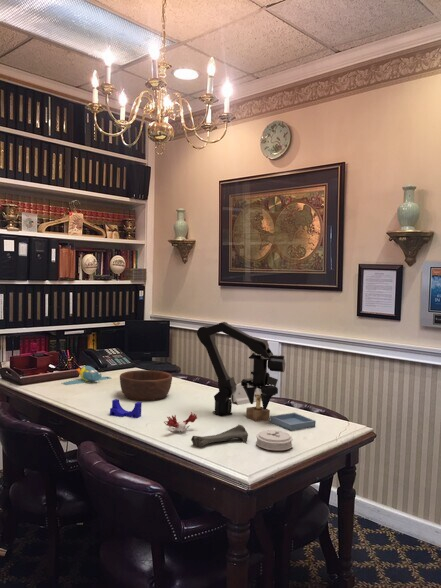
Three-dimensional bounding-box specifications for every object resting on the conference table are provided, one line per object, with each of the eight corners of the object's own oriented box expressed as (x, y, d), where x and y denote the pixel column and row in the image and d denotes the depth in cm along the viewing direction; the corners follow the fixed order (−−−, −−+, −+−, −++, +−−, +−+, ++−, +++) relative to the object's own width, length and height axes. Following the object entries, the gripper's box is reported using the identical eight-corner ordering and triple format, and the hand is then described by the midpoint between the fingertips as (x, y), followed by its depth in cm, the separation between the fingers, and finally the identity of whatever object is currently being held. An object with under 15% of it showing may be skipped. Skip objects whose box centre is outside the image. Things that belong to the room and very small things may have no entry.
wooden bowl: (108, 398, 232) (109, 376, 231) (136, 387, 255) (137, 368, 255) (155, 405, 222) (156, 383, 222) (180, 394, 246) (181, 373, 245)
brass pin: (256, 419, 207) (257, 396, 206) (252, 417, 209) (253, 394, 209) (263, 418, 208) (264, 395, 208) (258, 416, 211) (259, 394, 211)
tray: (290, 431, 193) (290, 424, 193) (270, 422, 204) (270, 416, 204) (315, 426, 200) (315, 420, 200) (294, 418, 211) (294, 412, 211)
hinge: (237, 405, 229) (233, 383, 231) (230, 406, 233) (227, 384, 235) (263, 400, 239) (259, 379, 241) (257, 401, 243) (253, 381, 245)
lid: (282, 456, 167) (283, 441, 167) (249, 447, 174) (250, 433, 173) (297, 445, 178) (298, 432, 177) (266, 438, 184) (266, 425, 184)
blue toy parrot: (103, 361, 280) (119, 366, 270) (102, 376, 280) (118, 381, 270) (57, 366, 260) (72, 372, 249) (57, 382, 260) (72, 389, 250)
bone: (242, 437, 184) (243, 421, 184) (251, 442, 179) (252, 426, 179) (188, 445, 174) (189, 428, 174) (196, 451, 168) (197, 433, 168)
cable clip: (109, 415, 205) (110, 401, 204) (115, 412, 209) (115, 398, 209) (135, 419, 201) (136, 404, 201) (141, 416, 205) (141, 402, 205)
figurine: (184, 423, 197) (185, 407, 197) (203, 431, 188) (204, 414, 188) (153, 430, 187) (153, 413, 187) (171, 439, 178) (172, 420, 178)
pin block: (255, 421, 204) (256, 412, 204) (246, 417, 210) (246, 407, 210) (269, 419, 208) (269, 410, 208) (259, 415, 214) (259, 406, 214)
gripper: (289, 372, 204) (287, 410, 205) (261, 364, 220) (260, 399, 221) (267, 374, 199) (265, 413, 199) (241, 366, 214) (239, 402, 215)
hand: (258, 406), depth 209 cm, fingers open, 9 cm apart
